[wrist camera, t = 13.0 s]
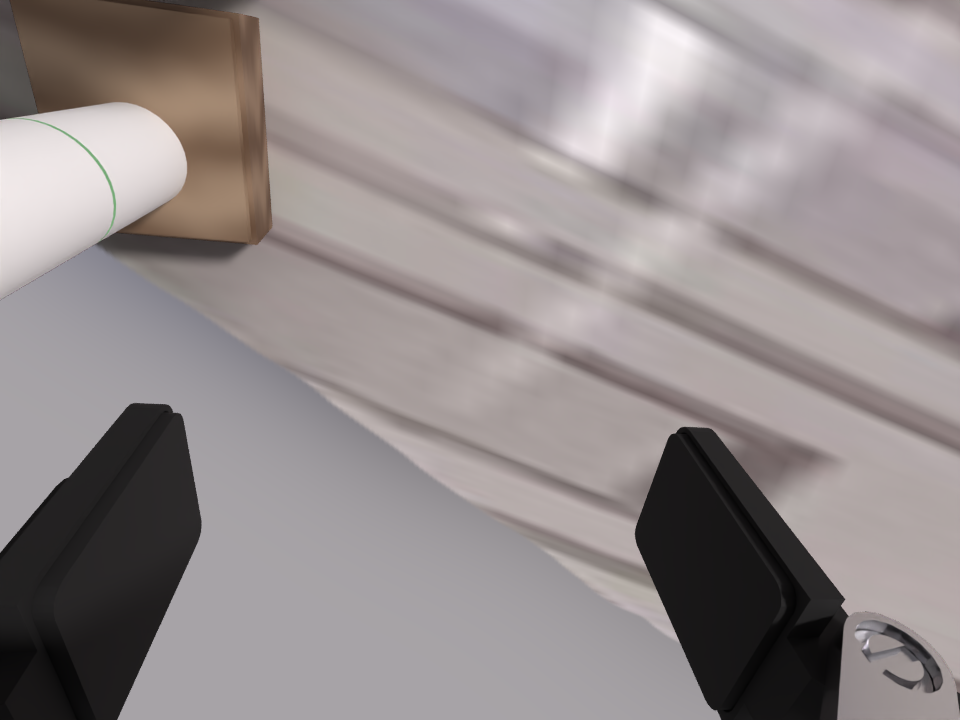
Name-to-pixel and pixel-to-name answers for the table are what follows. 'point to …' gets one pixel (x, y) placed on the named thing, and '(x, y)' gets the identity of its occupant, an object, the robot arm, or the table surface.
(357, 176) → the table surface
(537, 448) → the table surface
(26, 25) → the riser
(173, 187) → the cylindrical container
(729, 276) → the table surface
